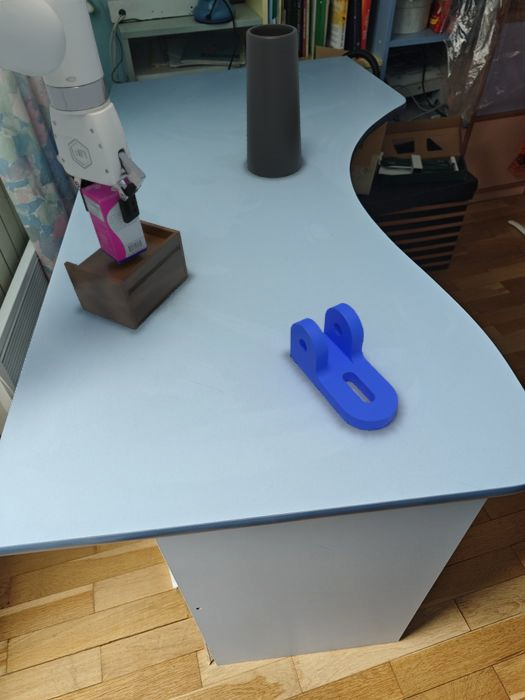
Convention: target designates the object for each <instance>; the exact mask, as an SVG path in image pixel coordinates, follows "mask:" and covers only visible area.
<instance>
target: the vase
mask: <svg viewBox="0 0 525 700" xmlns="http://www.w3.org/2000/svg"><path fill="white" fill-rule="evenodd" d="M245 36H246V37H245V38H246V39H245V40H246V41H245V43H246V46H245V47H246V49H245V50H246V51H245V52H246V53H245V55H246V57H245V58H246V61H245V62H246V66H245V67H246V68H245V69H246V73H245V74H246V75H245V76H246V167H247V169H248V171H249V172H250V173H251V174H254V175H256V176H259V177H263V178H272V179H273V178H283V177H288V176H290V175H293V174H295V173H296V172H298V171H299V170H300V169H301V167H302V161H303V159H302V136H301V135H302V131H301V130H302V128H301V126H302V125H301V100H300V99H301V98H300V97H301V96H300V70H299V41H298V40H299V39H298V37H299V36H298V28H296V27H295V26H293V25H290V24H286V23H264V24H258V25H255V26H252V27H250V28H248V29H247V31H246V35H245Z"/></svg>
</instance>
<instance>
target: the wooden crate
mask: <svg viewBox="0 0 525 700" xmlns="http://www.w3.org/2000/svg"><path fill="white" fill-rule="evenodd" d="M140 223H141V227H142V230H143V234H144V238H145V242H146V246H147V250H146V251H144V252H142V253H140V254H138V255H136V256H134V257H132V258H130V259H128V260H126V261H125V262H123V263H121V264H119V263H117V262H116V261H115V260H114V259H112V258H111V257H110V256H109V255H107V254H106V253H105V252H104V251H102V249H101V247H99V248H98V249H97V250H96V251H94V252H93V253H92V254H90V255H89V256H87V258H85V259H84V260H83V261H82V262H80V263H79V264H77V263H73V262H71V261H68V260H67V261H65V262H64V263H63V266H64V268H65V271H66V273H67V275H68V277H69V280H70V282H71V285H72V287H73V290H74V293H75V294H76V297H77V299H78V302H79V305H80V307H81V310H84V311H86V312H88V313H91V314H94V315H97V316H99V317H101V318H104V319H106V320H110V321H112V322H114V323H117V324H119V325H121V326H125V327H127V328H130V329H132V330H137V329H138V328H139V327H140V326H141V325H142V324H143V323H144V322H145V321H146V320H147V319H148V318H149V317H150V316H151V315H152V314H153V313H154V312H155V311H156V310H157V309H158V308H159V307H160V306H161V305H163V303H165V301H166V300H167V299H168V298H169V297H170V296H171V295H172V294H173V293H174V292H175V291H176V290H177V289H178V288H179V287H180V286H181V285H182V284H183V283H184V282H185V281H186V280H187V279H188V278H189V272H188V266H187V262H186V261H187V260H186V257H185V250H184V245H183V239H182V234H181V230H176V229H175V228H170V227H167V226H164V225H160V224H156V223H152V222H148V221H146V220H143V219H140Z"/></svg>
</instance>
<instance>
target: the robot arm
mask: <svg viewBox="0 0 525 700" xmlns="http://www.w3.org/2000/svg"><path fill="white" fill-rule="evenodd" d="M91 21H92V20H91V17H90V13H89V9H88V5H87V1H86V0H0V69H4V70H7V71H11V72H14V73H18V74H21V75H24V76H26V77H32V78H37V77H39V78H40V77H42V80H43V82H44V86H45V89H46V92H47V95H48V97H49V101H50V103H49V105H48V108H49V117H50V123H51V129H52V134H53V138H54V141H55V145H56V149H57V152H58V154H57V155H56V160H57V161H58V163H60V164H61V166H62V168H63V169H64V171H65V172H66V174H67V175H69V177H71V179H72V180H73V184H74V186H75V187H76V188H77V189H79V194H80V196H81V199H82V203H83V205H84V209H85V211H86V212H87V213H89V211H88V208H87V205H86V202H85V199H84V196H83V193H82V190H81V189H83V188H85V187H87V186H90V185H92V184H94V183H100V184H104V185H108V186H113V187H114V188H115V190H116V191H117V193H118V195H119V196H120V199H119V200H118V203H119V206H120V210H121V213H122V217H123V221H124V222H125V223H127V224H128V223H130V222H131V221H132V220H134V219H135V218H136V217H138V216H139V217H140V208H139V204H138V200H137V195H136V194H137V193H138V191H139V190H140V188H141V187H142V184H143V183H144V181H145V180H146V177H147V176H146V173H145V172H144V171H143V170H142V169H141V168H140V167H139V166H138V165H137V164H136V163H135V162H134V161H133V159H132V155H131V151H130V148H129V147H130V146H129V144H128V141H127V136H126V134H125V131H124V128H123V125H122V122H121V120H120V117H119V115H118V112H117V109H116V107H115V106H114V105H115V104H114V103H113V102H111V99H110V94H109V89H108V86H107V82H106V78H105V73H104V70H103V65H102V63H101V58H100V54H99V50H98V46H97V41H96V38H95V34H94V29H93V26H92V22H91ZM120 181H121V182H122V181H123V183H124V184H126V185H127V187H126V188H125V189H124V188H123V186H122V185H121V183H120Z"/></svg>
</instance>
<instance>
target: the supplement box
mask: <svg viewBox="0 0 525 700" xmlns="http://www.w3.org/2000/svg"><path fill="white" fill-rule="evenodd" d="M120 183H121V185H122V186H123V188H124V189H125V188H126V187H127V185H126V184H125V182H124V181H123V182H122V180H121V181H120ZM81 190H82V193H83V196H84V199H85V202H86V205H87V208H88V211H89V212H88V214H89V217H90V219H91V223H92V225H93V228H94V229H93V230H94V231H95V234H96V238H97V241H98V243H99V247H100V248H101V249H102V251H104V252H105V253H106V254H107V255H109V256H110V257H111V258H112V259H114V260H115V261H116V262H117V263H119V264H121V263H123V262H125V261H126V260H128V259H130V258H132V257H134V256H136V255H138V254H140V253H142V252H144V251H146V250H147V246H146V242H145V238H144V234H143V230H142V227H141V223H140V220H141V219H140V215H139V216H138V217H136V218H135V219H134V220H132V221H131V222H130V223H128V224H127V223H125V222H124V221H123V217H122V213H121V210H120V206H119V203H118V200H119V199H120V196H119V195H118V193H117V191H116V190H115V188H114V187H113V186H108V185H104V184H100V183H94V184H92V185H90V186H87V187H85V188H83V189H81Z"/></svg>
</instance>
